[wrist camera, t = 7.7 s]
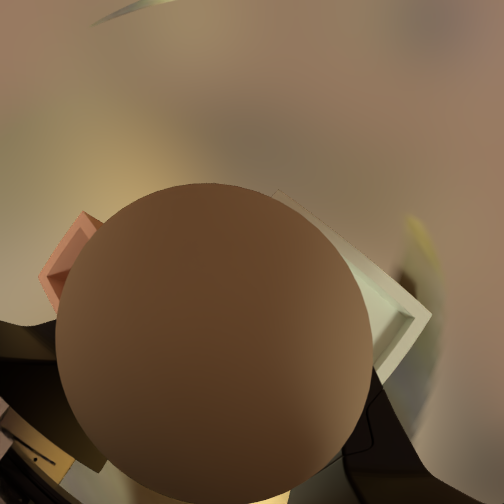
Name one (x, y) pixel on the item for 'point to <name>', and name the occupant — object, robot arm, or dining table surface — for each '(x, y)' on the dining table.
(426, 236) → the dining table surface
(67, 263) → the square frame
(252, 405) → the dowel
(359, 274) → the tray
